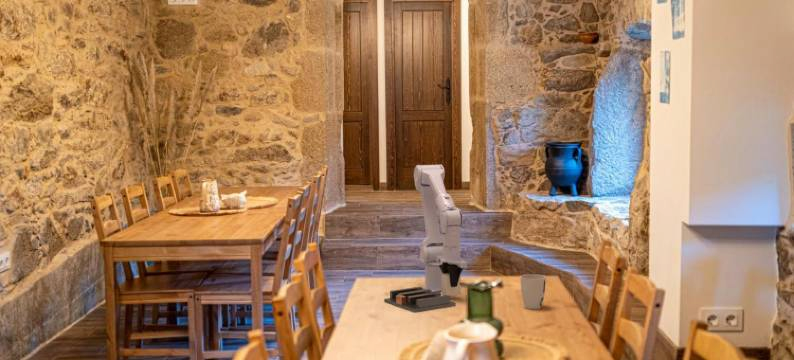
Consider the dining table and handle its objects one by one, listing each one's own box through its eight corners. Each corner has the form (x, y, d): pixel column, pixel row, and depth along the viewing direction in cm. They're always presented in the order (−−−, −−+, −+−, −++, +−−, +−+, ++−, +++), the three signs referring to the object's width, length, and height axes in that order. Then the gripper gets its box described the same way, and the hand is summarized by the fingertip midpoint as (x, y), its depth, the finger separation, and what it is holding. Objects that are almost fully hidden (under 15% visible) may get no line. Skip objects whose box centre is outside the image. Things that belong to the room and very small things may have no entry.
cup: (547, 310, 286) (547, 279, 285) (521, 310, 286) (521, 279, 285) (543, 304, 294) (544, 274, 293) (518, 304, 294) (519, 274, 293)
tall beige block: (456, 292, 306) (456, 272, 305) (460, 293, 304) (460, 273, 303) (441, 294, 302) (441, 274, 302) (446, 296, 300) (446, 275, 300)
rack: (424, 295, 308) (424, 285, 308) (455, 305, 293) (455, 295, 293) (384, 301, 299) (384, 291, 299) (414, 312, 284) (414, 301, 284)
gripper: (429, 244, 305) (429, 283, 307) (454, 250, 293) (454, 291, 295) (446, 241, 309) (446, 281, 310) (471, 248, 297) (471, 288, 298)
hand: (451, 285), depth 303 cm, fingers closed on tall beige block, 2 cm apart
